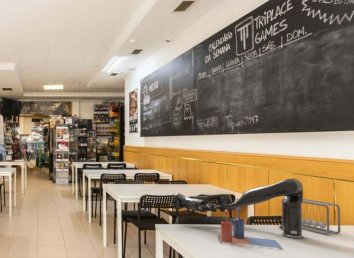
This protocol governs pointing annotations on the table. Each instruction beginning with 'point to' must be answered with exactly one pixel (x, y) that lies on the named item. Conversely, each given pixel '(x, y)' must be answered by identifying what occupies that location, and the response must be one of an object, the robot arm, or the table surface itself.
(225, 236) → the terracotta spoon holder
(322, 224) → the newton's cradle
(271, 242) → the sorting board
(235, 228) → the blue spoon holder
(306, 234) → the table surface
